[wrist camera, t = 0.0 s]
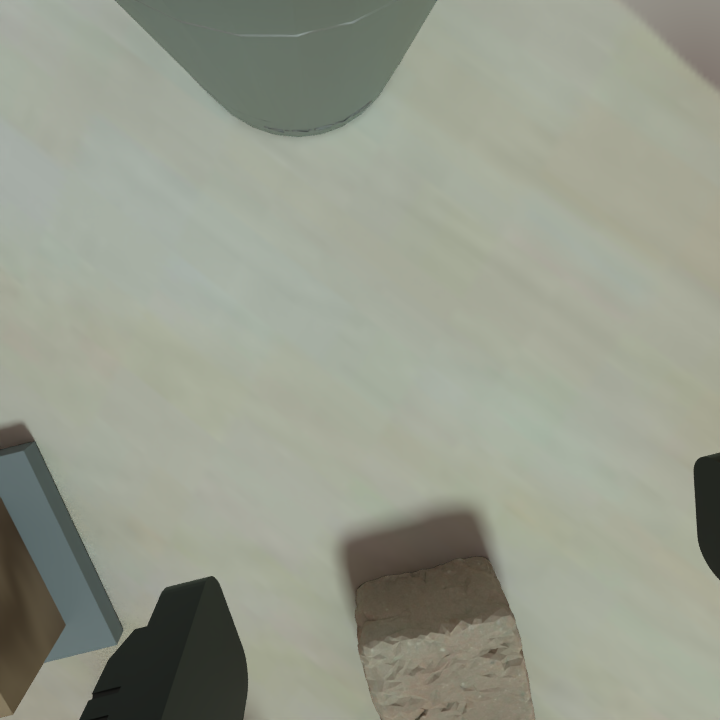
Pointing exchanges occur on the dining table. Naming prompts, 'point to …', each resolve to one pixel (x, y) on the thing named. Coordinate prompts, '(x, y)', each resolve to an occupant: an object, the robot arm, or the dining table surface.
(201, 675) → the robot arm
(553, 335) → the dining table surface
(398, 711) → the brick
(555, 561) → the dining table surface
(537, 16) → the dining table surface
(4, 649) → the walnut plinth
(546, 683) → the dining table surface
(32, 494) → the slate board
